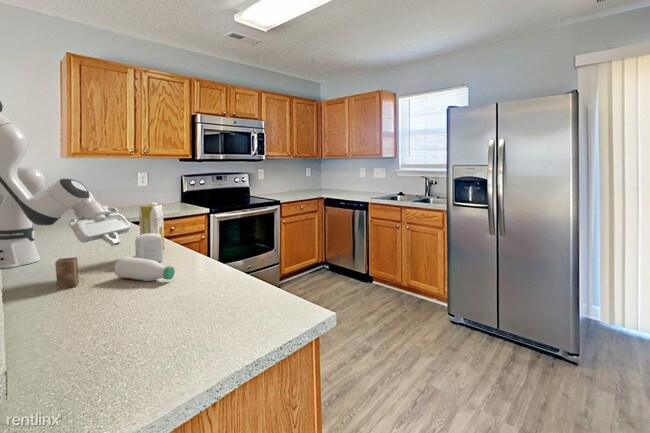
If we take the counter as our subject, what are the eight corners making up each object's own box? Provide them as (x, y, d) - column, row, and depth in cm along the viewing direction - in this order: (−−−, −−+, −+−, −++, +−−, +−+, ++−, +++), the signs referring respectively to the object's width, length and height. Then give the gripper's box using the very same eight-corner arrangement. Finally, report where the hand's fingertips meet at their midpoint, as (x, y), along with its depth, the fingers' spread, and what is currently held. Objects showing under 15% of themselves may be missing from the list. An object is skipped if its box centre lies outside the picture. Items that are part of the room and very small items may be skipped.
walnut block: (57, 289, 115) (55, 262, 114) (61, 284, 120) (59, 258, 118) (75, 287, 117) (73, 261, 116) (79, 282, 122) (77, 257, 120)
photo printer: (162, 259, 152) (161, 231, 150) (164, 261, 149) (162, 233, 147) (135, 262, 147) (133, 233, 145) (136, 265, 143) (135, 235, 141)
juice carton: (157, 258, 153) (154, 204, 150) (139, 258, 153) (136, 203, 150) (166, 253, 163) (164, 202, 159) (149, 252, 163) (147, 201, 159)
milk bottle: (110, 273, 122) (161, 279, 119) (119, 253, 126) (170, 258, 122) (123, 280, 129) (172, 287, 125) (132, 261, 132) (180, 267, 129)
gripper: (70, 214, 119) (95, 245, 118) (120, 207, 138) (142, 233, 137) (61, 226, 121) (86, 256, 120) (112, 217, 140) (133, 243, 139)
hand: (116, 244), depth 129 cm, fingers closed
